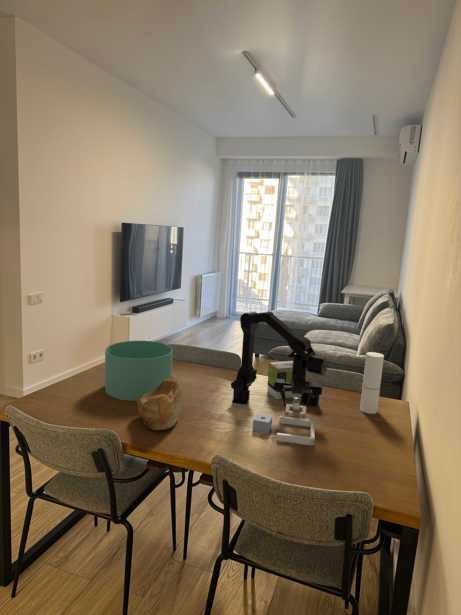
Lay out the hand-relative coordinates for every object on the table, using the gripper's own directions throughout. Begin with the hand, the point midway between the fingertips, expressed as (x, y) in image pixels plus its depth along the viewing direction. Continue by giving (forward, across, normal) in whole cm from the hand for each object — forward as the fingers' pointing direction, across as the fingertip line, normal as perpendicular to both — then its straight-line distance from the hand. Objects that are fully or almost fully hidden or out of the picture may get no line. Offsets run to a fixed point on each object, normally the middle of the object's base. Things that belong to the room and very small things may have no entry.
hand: (296, 406), depth 170 cm
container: (+5, -71, +11) cm, 72 cm away
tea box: (+5, -5, +25) cm, 26 cm away
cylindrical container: (+5, +31, +18) cm, 36 cm away
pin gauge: (+4, 0, 0) cm, 4 cm away
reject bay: (+5, 0, -13) cm, 14 cm away
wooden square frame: (+5, 0, 0) cm, 5 cm away
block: (+5, -12, -13) cm, 18 cm away
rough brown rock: (+5, -52, -17) cm, 55 cm away
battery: (+5, +6, +17) cm, 19 cm away
